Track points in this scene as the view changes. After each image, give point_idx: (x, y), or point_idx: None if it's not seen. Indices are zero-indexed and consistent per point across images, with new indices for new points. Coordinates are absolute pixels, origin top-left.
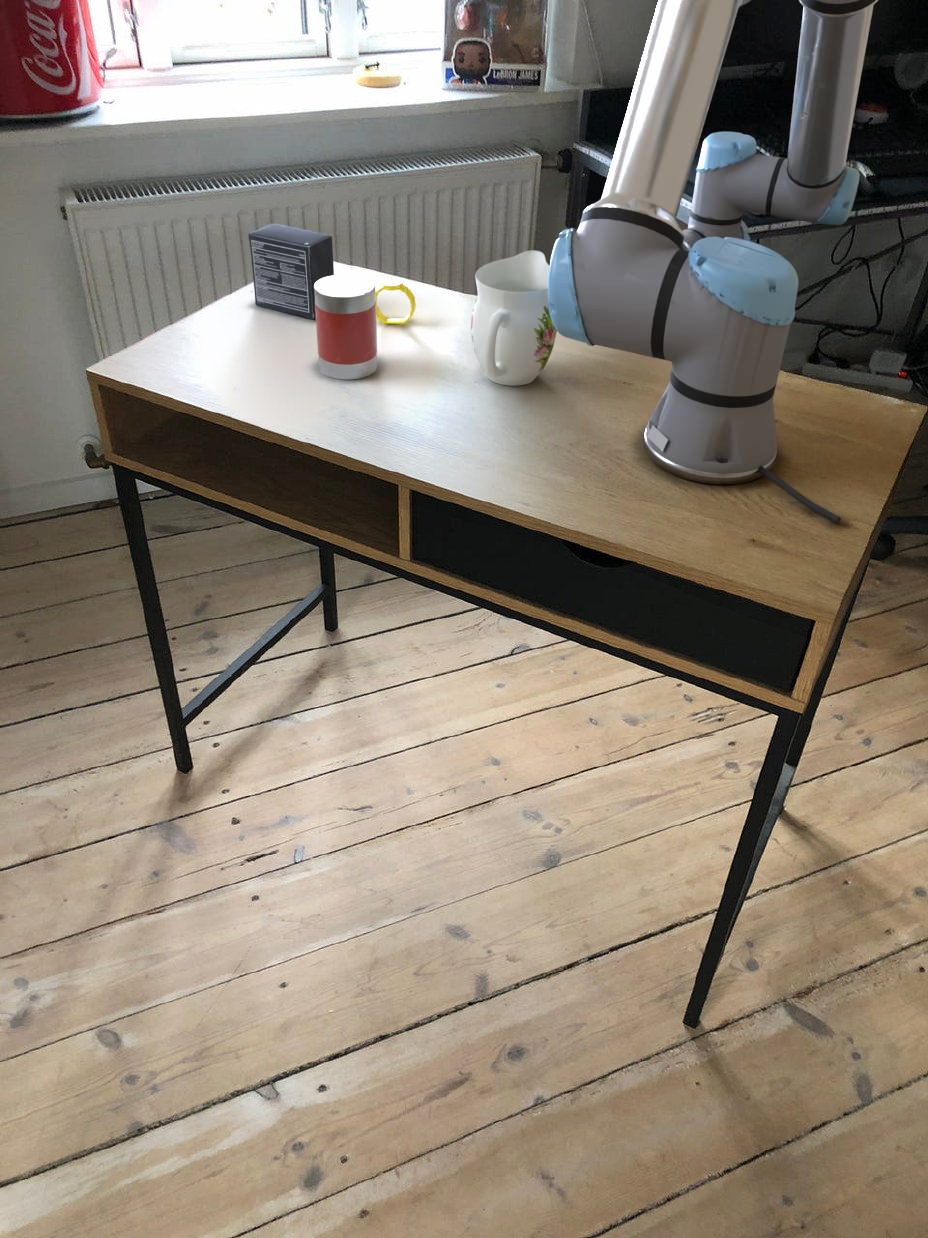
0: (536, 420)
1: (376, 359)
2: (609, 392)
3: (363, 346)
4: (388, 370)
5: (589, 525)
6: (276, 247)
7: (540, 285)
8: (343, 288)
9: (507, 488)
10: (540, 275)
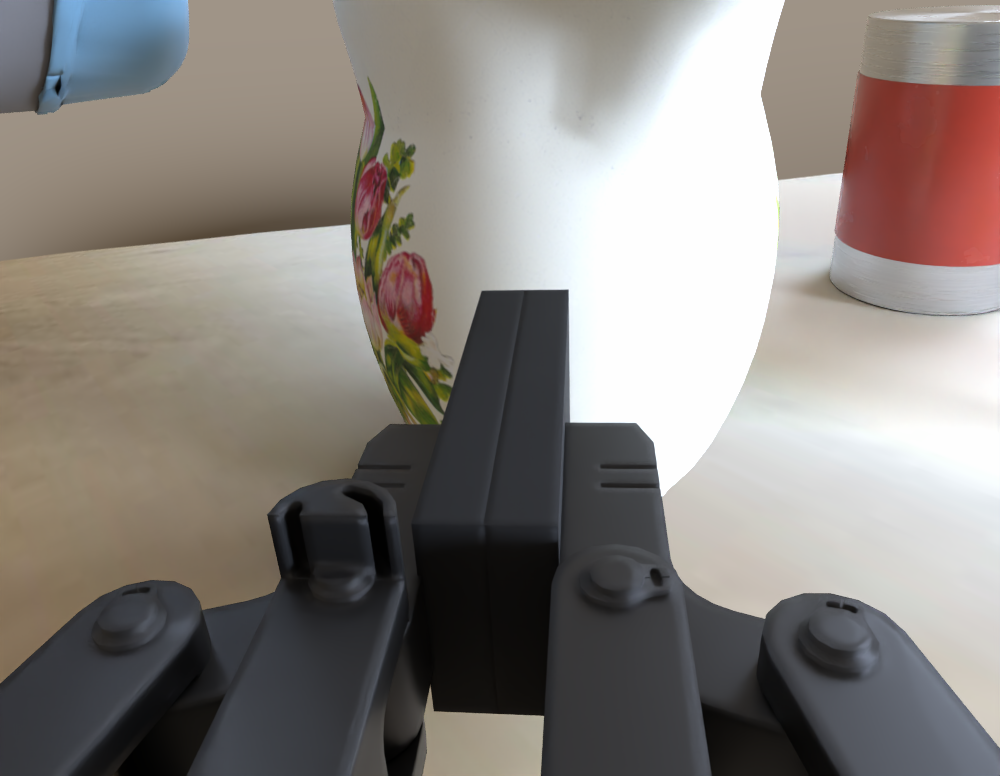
0: (288, 368)
1: (876, 275)
2: (95, 589)
3: (842, 186)
4: (844, 314)
5: (16, 266)
6: None
7: (557, 129)
8: (947, 12)
9: (215, 255)
10: (574, 68)
